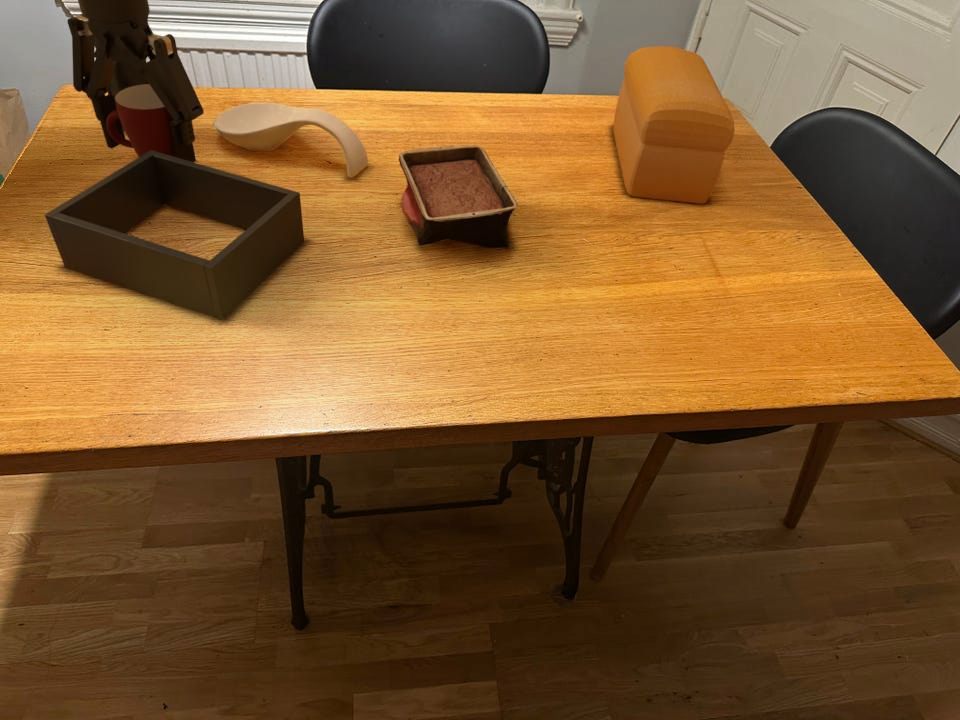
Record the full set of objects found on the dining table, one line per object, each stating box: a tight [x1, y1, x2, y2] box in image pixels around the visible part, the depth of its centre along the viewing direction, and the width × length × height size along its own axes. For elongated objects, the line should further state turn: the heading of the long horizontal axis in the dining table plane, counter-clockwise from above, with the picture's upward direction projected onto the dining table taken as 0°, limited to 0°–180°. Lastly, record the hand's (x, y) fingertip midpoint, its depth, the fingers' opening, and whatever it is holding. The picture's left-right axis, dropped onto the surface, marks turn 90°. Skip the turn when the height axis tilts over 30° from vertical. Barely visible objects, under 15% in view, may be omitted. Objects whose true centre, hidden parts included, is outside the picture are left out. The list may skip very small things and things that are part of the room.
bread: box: [612, 45, 735, 204], centre depth 107 cm, size 24×13×15 cm, turn 178°
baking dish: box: [398, 144, 519, 249], centre depth 91 cm, size 14×18×10 cm
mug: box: [106, 84, 181, 158], centre depth 94 cm, size 10×8×10 cm
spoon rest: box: [213, 101, 369, 178], centre depth 101 cm, size 24×12×7 cm, turn 67°
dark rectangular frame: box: [44, 150, 305, 321], centre depth 81 cm, size 21×17×7 cm
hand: (151, 154), depth 96 cm, fingers open, 11 cm apart
